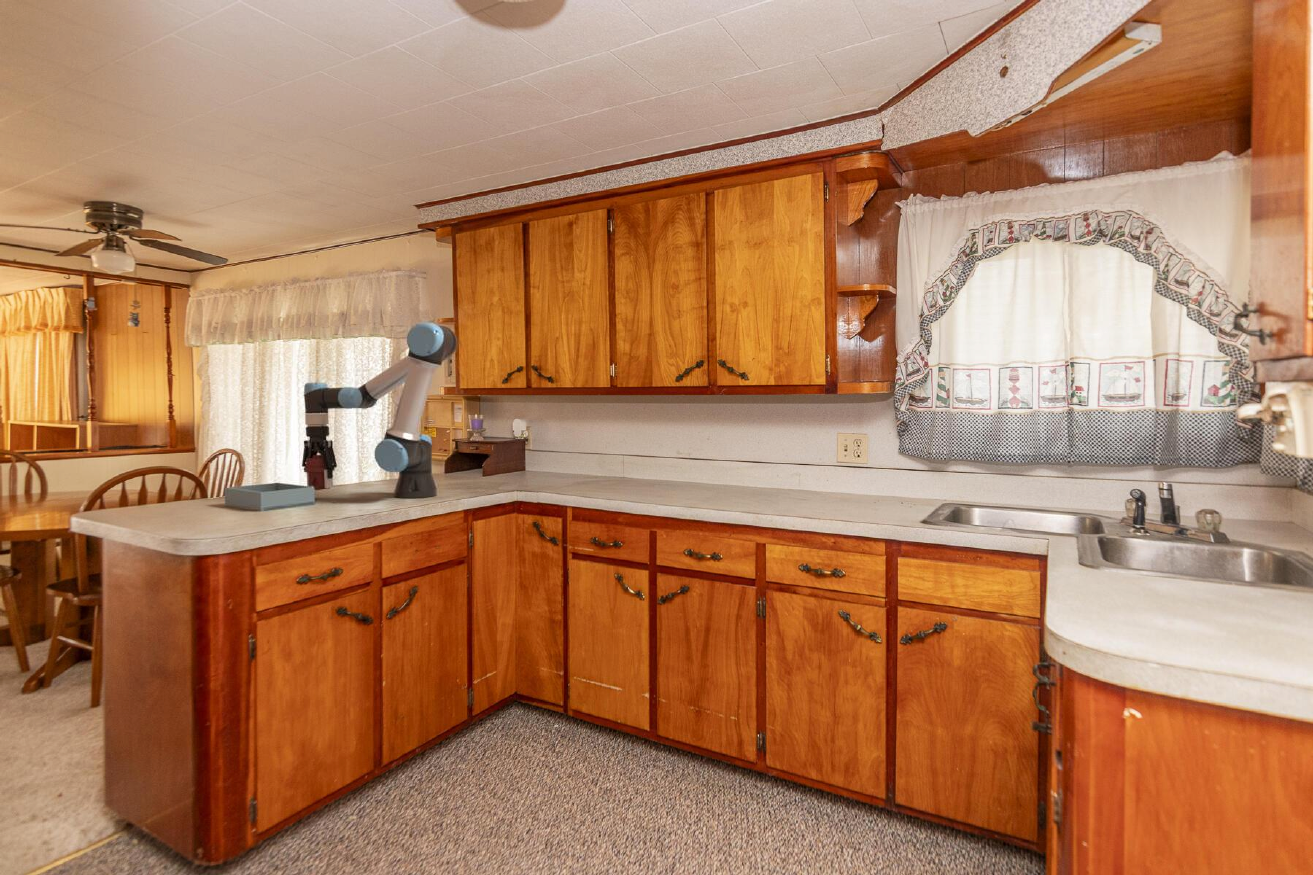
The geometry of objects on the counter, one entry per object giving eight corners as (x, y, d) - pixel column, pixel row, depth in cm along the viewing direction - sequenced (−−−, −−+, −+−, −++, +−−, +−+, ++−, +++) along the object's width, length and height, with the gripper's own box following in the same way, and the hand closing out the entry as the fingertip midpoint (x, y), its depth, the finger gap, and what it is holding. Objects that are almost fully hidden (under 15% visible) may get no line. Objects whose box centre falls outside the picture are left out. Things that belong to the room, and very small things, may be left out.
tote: (314, 504, 234) (314, 487, 234) (261, 511, 218) (260, 492, 218) (278, 499, 245) (277, 482, 245) (225, 505, 230) (224, 487, 230)
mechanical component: (316, 491, 241) (298, 490, 245) (341, 488, 250) (323, 487, 254) (315, 456, 240) (296, 456, 245) (340, 454, 249) (322, 454, 254)
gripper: (346, 425, 244) (348, 487, 245) (308, 425, 256) (311, 484, 257) (326, 425, 237) (329, 489, 238) (289, 426, 249) (292, 486, 250)
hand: (320, 487), depth 247 cm, fingers closed on mechanical component, 10 cm apart
